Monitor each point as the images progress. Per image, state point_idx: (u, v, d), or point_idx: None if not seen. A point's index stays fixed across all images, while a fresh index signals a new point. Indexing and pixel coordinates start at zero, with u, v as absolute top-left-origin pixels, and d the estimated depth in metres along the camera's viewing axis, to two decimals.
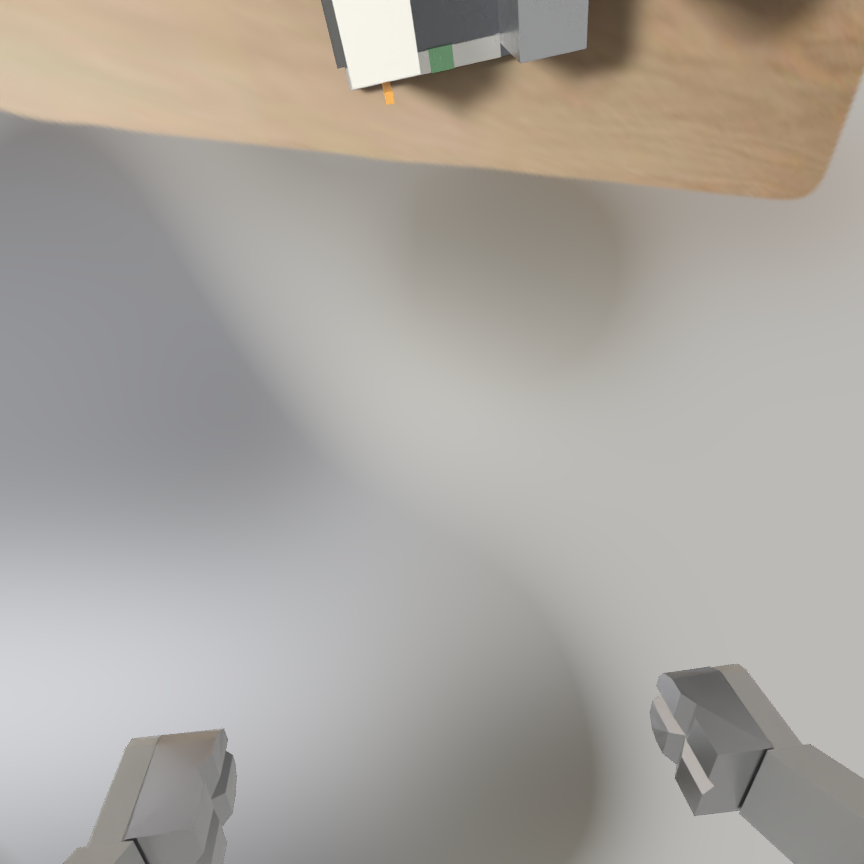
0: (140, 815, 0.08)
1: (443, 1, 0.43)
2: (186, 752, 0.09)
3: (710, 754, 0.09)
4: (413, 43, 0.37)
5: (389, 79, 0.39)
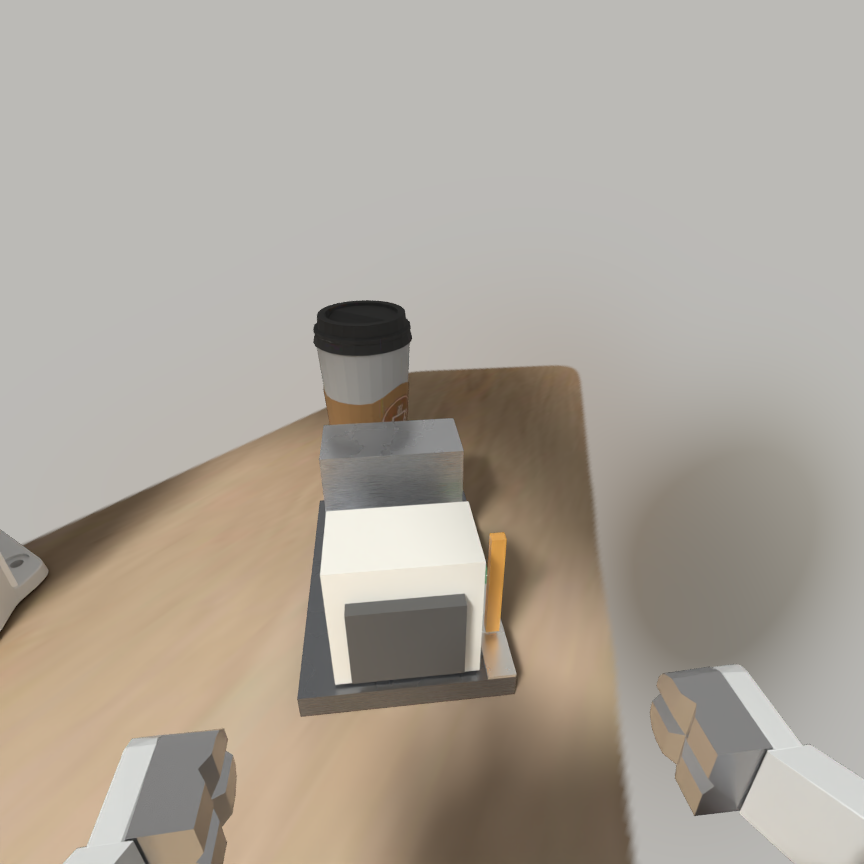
0: (140, 815, 0.08)
1: None
2: (186, 752, 0.09)
3: (710, 754, 0.09)
4: (436, 505, 0.30)
5: (473, 526, 0.29)
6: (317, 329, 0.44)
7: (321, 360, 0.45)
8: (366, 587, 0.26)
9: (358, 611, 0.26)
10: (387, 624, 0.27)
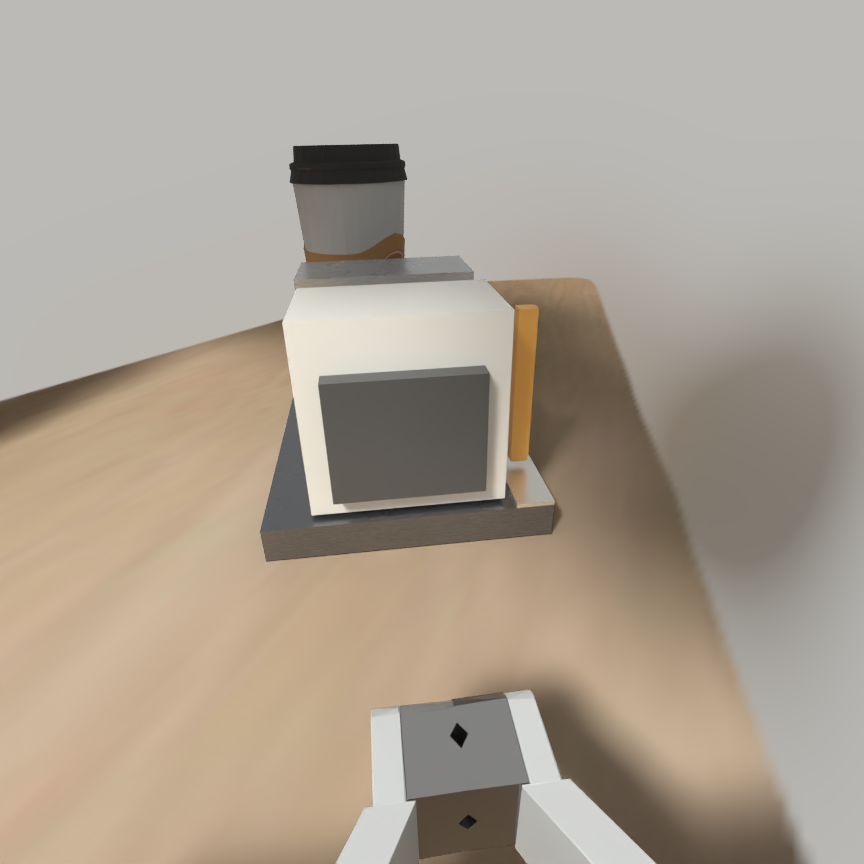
0: (413, 777, 0.08)
1: None
2: (431, 721, 0.09)
3: None
4: (442, 282, 0.23)
5: (494, 291, 0.21)
6: (293, 162, 0.37)
7: (299, 202, 0.38)
8: (348, 348, 0.19)
9: (338, 380, 0.19)
10: (379, 402, 0.19)
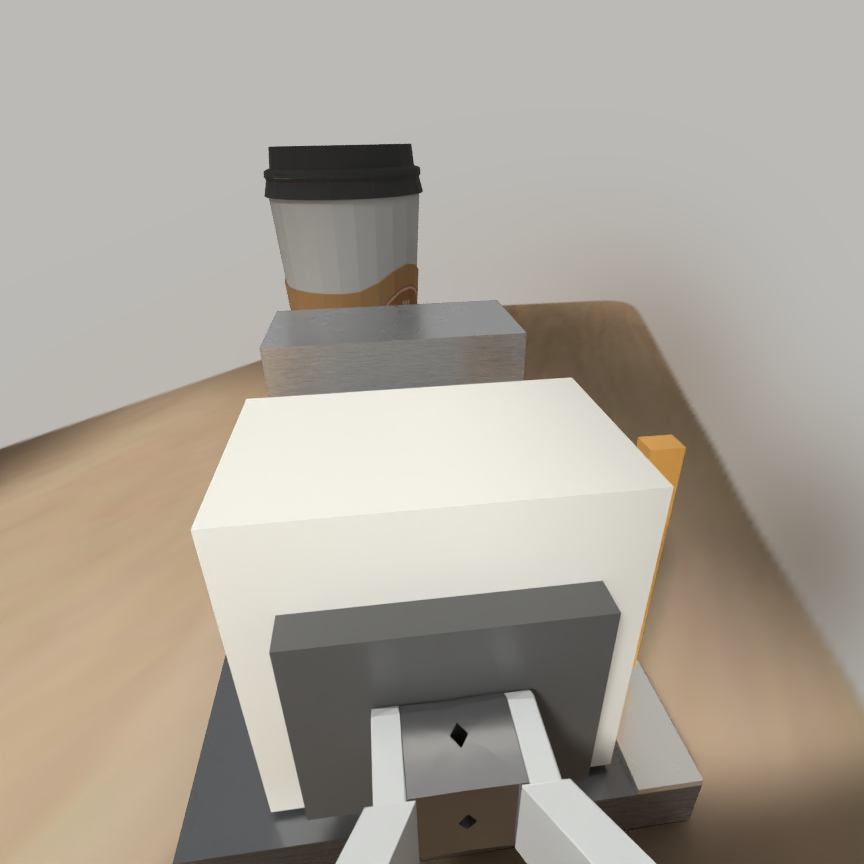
0: (413, 778, 0.08)
1: None
2: (431, 721, 0.09)
3: None
4: (500, 384, 0.13)
5: (604, 417, 0.12)
6: (269, 169, 0.27)
7: (277, 223, 0.28)
8: (333, 566, 0.09)
9: (312, 637, 0.09)
10: (396, 672, 0.09)
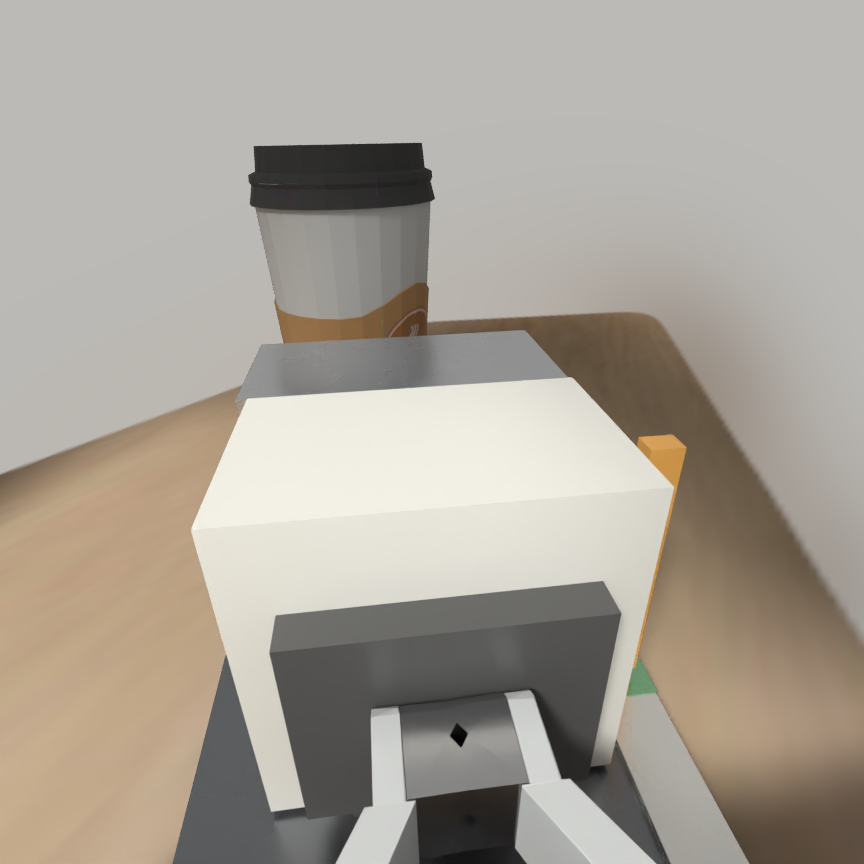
0: (413, 778, 0.08)
1: None
2: (431, 721, 0.09)
3: None
4: (501, 384, 0.13)
5: (604, 417, 0.12)
6: (254, 172, 0.23)
7: (264, 236, 0.24)
8: (334, 566, 0.09)
9: (312, 637, 0.09)
10: (397, 672, 0.09)
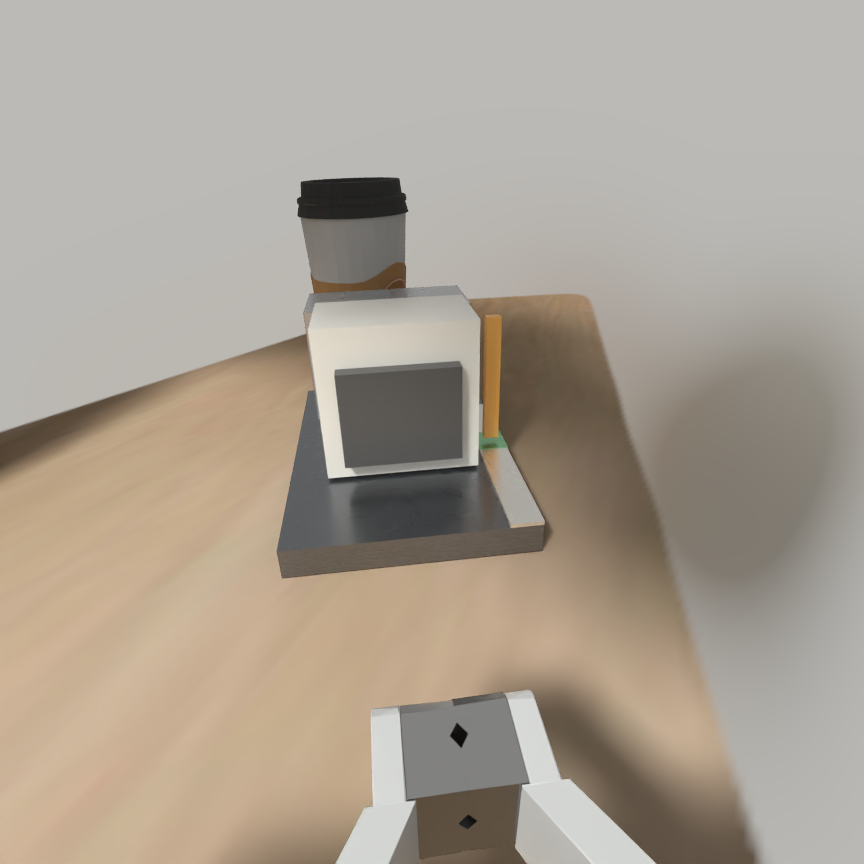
0: (413, 778, 0.08)
1: None
2: (431, 721, 0.09)
3: None
4: (428, 297, 0.30)
5: (467, 304, 0.28)
6: (301, 197, 0.39)
7: (306, 234, 0.40)
8: (356, 348, 0.25)
9: (349, 373, 0.25)
10: (380, 389, 0.26)
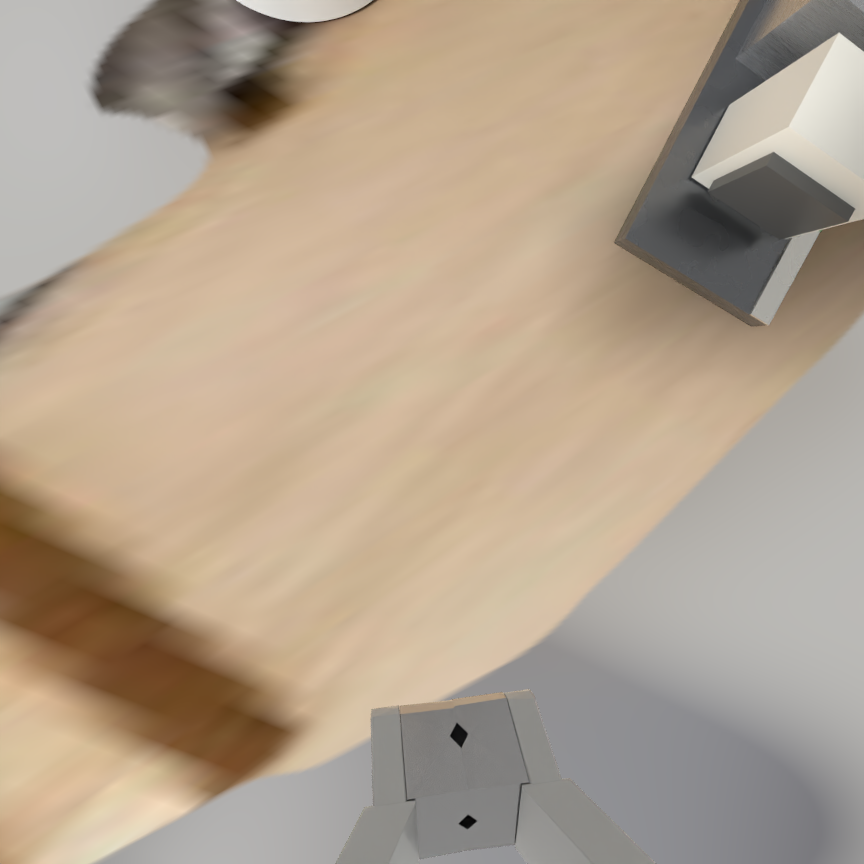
0: (413, 777, 0.08)
1: None
2: (431, 721, 0.09)
3: None
4: None
5: None
6: None
7: None
8: (804, 156, 0.28)
9: (777, 168, 0.29)
10: (783, 189, 0.30)
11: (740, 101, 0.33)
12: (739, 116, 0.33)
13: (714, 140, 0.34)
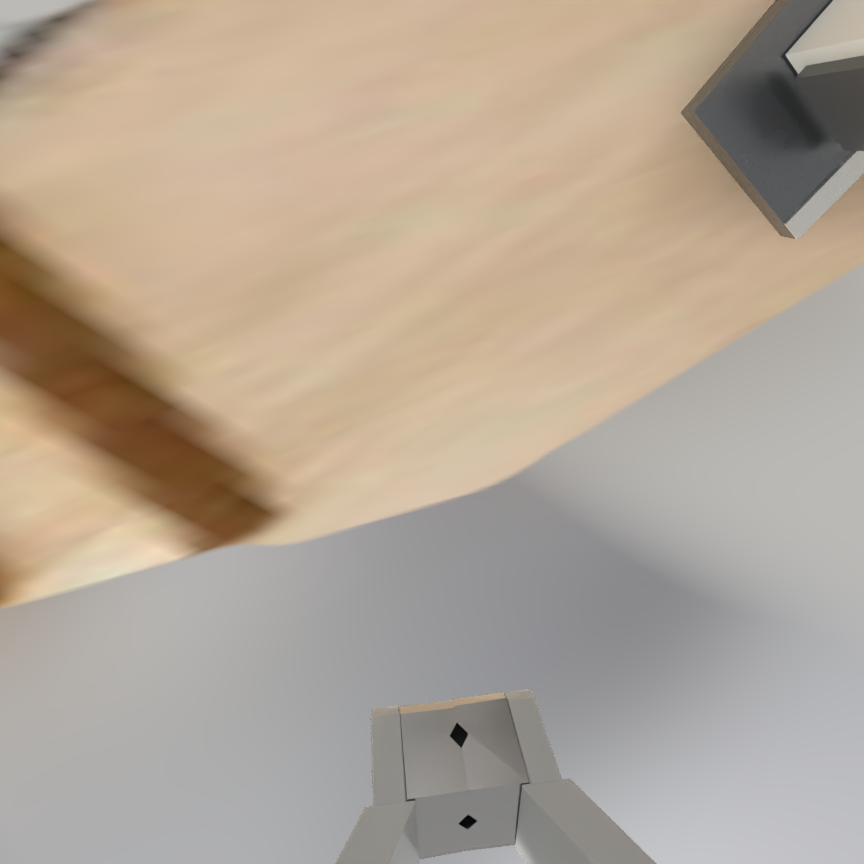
0: (413, 777, 0.08)
1: None
2: (431, 721, 0.09)
3: None
4: None
5: None
6: None
7: None
8: None
9: None
10: None
11: None
12: None
13: (825, 15, 0.31)
